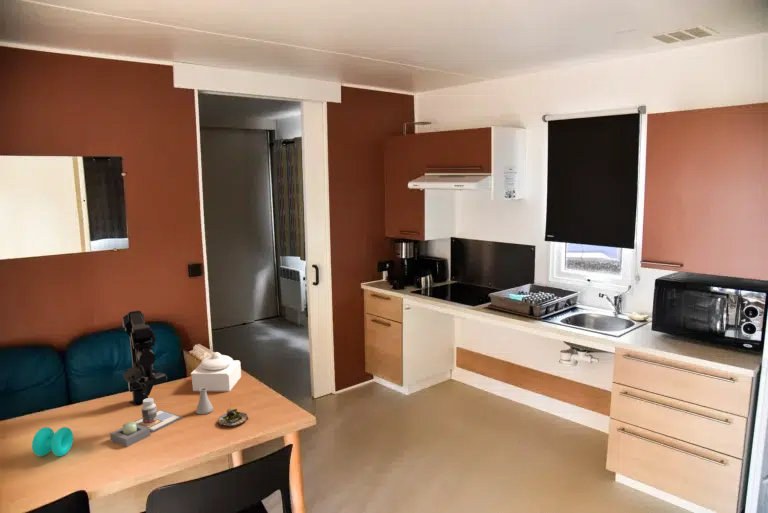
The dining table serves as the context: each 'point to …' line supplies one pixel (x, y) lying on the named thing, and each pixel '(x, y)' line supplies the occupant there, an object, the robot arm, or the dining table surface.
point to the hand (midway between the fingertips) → (147, 395)
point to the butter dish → (216, 373)
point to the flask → (204, 403)
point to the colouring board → (161, 420)
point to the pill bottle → (149, 411)
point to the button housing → (130, 436)
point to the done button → (129, 428)
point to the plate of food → (232, 417)
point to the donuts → (52, 441)
